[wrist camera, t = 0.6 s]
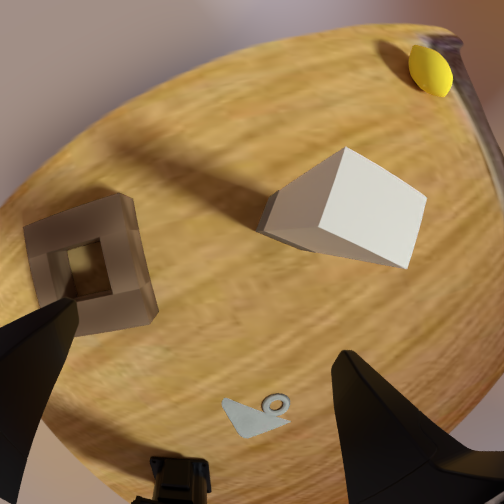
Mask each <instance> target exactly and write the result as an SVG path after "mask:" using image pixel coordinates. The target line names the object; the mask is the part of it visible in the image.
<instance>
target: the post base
mask: <svg viewBox="0 0 504 504" xmlns="http://www.w3.org/2000/svg"><path fill="white" fill-rule="evenodd" d="M23 229H24V236H25V243H26V249H27V254H28V259H29V264H30V269H31V274H32V278H33V282H34V286H35V290H36V294H37V298H38V302H39V305H40V308H42V307H44V306H46V305H48V304H50V303H53V302H55V301H57V300H59V299H61V298H63V297H68V298H71V299H74V300H75V301H76V302H77V308H78V314H79V325H78V328H77V330H76V333H75V336H74V337H79V336H85V335H92V334H98V333H104V332H110V331H116V330H122V329H127V328H133V327H138V326H144V325H149V324H151V322H152V321H153V319H154V318H155V317H156V315H157V314H158V312H159V309H158V306H157V302H156V299H155V295H154V291H153V288H152V284H151V280H150V276H149V272H148V268H147V264H146V260H145V255H144V251H143V247H142V242H141V237H140V233H139V228H138V223H137V218H136V212H135V207H134V201H133V199H132V198H130V197H128V196H125V195H123V194H121V193H117V194H114V195H111V196H108V197H104V198H101V199H98V200H95V201H92V202H89V203H86V204H83V205H80V206H77V207H74V208H71V209H69V210H66V211H63V212H60V213H58V214H55V215H52V216H50V217H47V218H44V219H42V220H39V221H37V222H34V223H32V224H29V225H27V226H25V227H23ZM98 241H100V242H101V247H102V251H103V256H104V260H105V265H106V269H107V273H108V277H109V281H110V285H111V288H112V289H111V290H107V291H102V292H98V293H93V294H89V295H84V296H80V297H78V295H77V292H76V288H75V284H74V280H73V276H72V272H71V268H70V263H69V259H68V254H67V250H70V249H74V248H77V247H80V246H84V245H87V244H91V243H94V242H98Z"/></svg>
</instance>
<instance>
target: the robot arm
mask: <svg viewBox="0 0 504 504" xmlns="http://www.w3.org/2000/svg"><path fill="white" fill-rule="evenodd" d="M78 325H79V314H78V308H77V302H76V301H75V300H74V299H71V298H68V297H63V298H61V299H59V300H57V301H55V302H53V303H50V304H48V305H46V306H44V307H42V308H40V309H38V310H36V311H33V312H31V313H29V314H27V315H25V316H23V317H21V318H19V319H17V320H15V321H13V322H11V323H9V324H7V325H5V326H3V327H1V328H0V498H2V499H3V500H6V501H7V502H9V503H11V504H16V503H17V498H18V493H19V489H20V485H21V481H22V477H23V473H24V469H25V466H26V462H27V457H28V455H29V451H30V448H31V445H32V442H33V439H34V436H35V433H36V430H37V428H38V425H39V422H40V420H41V417H42V414H43V412H44V409H45V407H46V404H47V402H48V399H49V397H50V394H51V392H52V390H53V387H54V385H55V383H56V381H57V378H58V376H59V374H60V372H61V370H62V367H63V365H64V363H65V360H66V358H67V355H68V352H69V349H70V347H71V344H72V341H73V338H74V336H75V333H76V330H77V328H78ZM331 376H332V388H333V402H334V411H335V416H336V422H337V428H338V433H339V439H340V445H341V451H342V458H343V464H344V471H345V478H346V485H347V492H348V500H349V504H504V451H475V450H471V449H469V448H467V447H465V446H464V445H462V444H461V443H460V442H458V441H457V440H456V439H454V438H453V437H452V436H450V435H449V434H448V433H446V432H445V431H444V430H442V429H441V428H440V427H439V426H437V425H436V424H435V423H434V422H432V421H431V420H430V419H429V418H428V417H427V416H425V415H424V414H423V413H422V412H421V411H419V410H418V408H416V407H415V406H414V405H413V404H412V403H411V402H410V401H409V400H408V399H406V398H405V397H404V396H403V395H402V394H401V393H400V392H399V391H398V390H396V389H395V388H394V387H393V386H392V385H391V384H390V383H389V382H388V381H386V380H385V379H384V378H383V377H382V376H381V375H380V374H379V373H378V372H377V371H375V370H374V369H373V368H372V367H371V366H370V365H369V364H368V363H367V362H365V361H364V360H363V359H362V358H361V357H360V356H359V355H358V354H357V353H356V352H354V351H352V350H342V351H341V352H340V354H339V355H338V357H337V359H336V360H335V362H334V364H333V365H332V368H331ZM153 460H154V461H153ZM150 465H151V468H152V471H153V474H154V478H155V486H154V492H153V497H152V500H151V499H147V498H142V497H141V496H136V499H135V500H134V501H133V502H131V504H207V493H211V482H210V473H209V463H208V462H207V461H206V460H186V459H171V458H160V457H151V458H150Z"/></svg>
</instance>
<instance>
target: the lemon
mask: <svg viewBox="0 0 504 504" xmlns="http://www.w3.org/2000/svg"><path fill="white" fill-rule="evenodd" d="M408 62H409V70H410V75H411V77H412V78H413V80H414V81H415V82H416V84H417V85H418V86H419V87H420V88H421V89H422V90H424V91H425V92H427V93H429V94H431V95H434V96H439V97H445V96H446V95H447V93H448V92H449V90H450V88H451V85H452V80H453V75H452V72H451V69H450V67H449V65H448V63H447V61H446V60H445V59H444V58H443V57H442V56H441V55H440V54H439V53H438V52H436V51H435V50H432V49H429V48H426V47H422V46H418V45H414V46H413V47H412V50H411V53H410V57H409V60H408Z"/></svg>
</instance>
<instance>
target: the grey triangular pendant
mask: <svg viewBox="0 0 504 504" xmlns="http://www.w3.org/2000/svg"><path fill="white" fill-rule="evenodd" d="M274 400H281V401H282V402H283V406H282V408H280V409H279V410H272V409H270V404H271V402H273V401H274ZM289 406H290V399H289V398H288V397H287V396H286V395H284V394H279V393H276V394H272V395H270V396H268V397H267V398H266V399H265V400H264V401H263V404H262V408H263V411H264V412H265V413H264V412H261V411H259V410H256V409H253V408H251V407H248V406H245V405H243V404H240V403H238V402H235V401H233V400H230V399H228V398H224V399H223V401H222V407H223V409H224V410H225V412H226V414H227V415H228V417H229V419H230V420H231V422H232V424H233V425H234V427H235V429H236V430H237V432H238V433H239V435H240V436H241V437H243V438H250V437H253V436H256V435H259V434H261V433H264V432H267V431H269V430H272V429H275V428H277V427H280V426H282V425H285V424H287V423H289V422H291V421H288V420H285V419H282V418H279V417H276V416H278V415H282V414H283V413H285V412H286V411H287V410H288V409H289Z"/></svg>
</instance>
